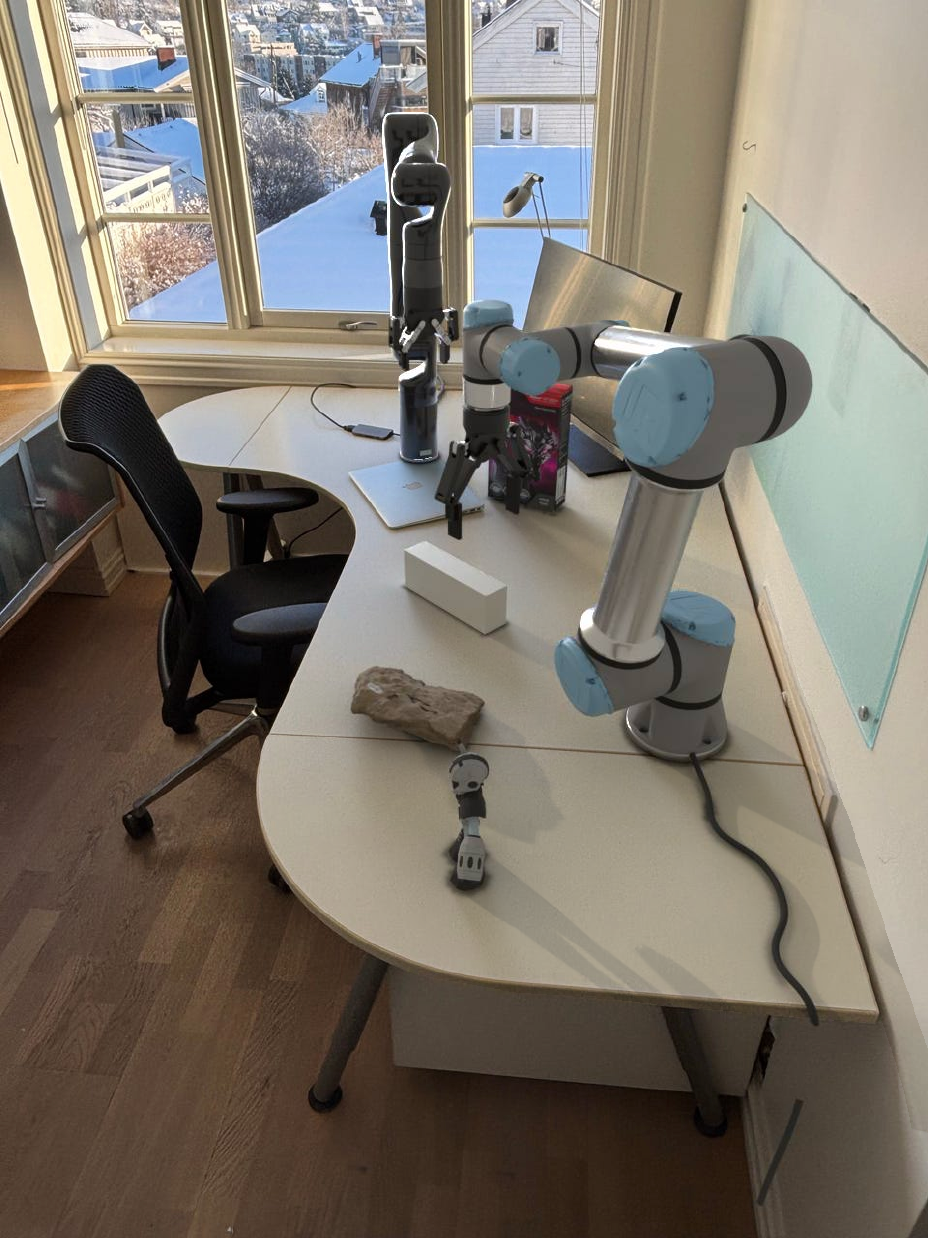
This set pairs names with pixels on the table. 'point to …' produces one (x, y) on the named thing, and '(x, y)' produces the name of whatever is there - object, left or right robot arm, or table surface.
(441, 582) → the bar
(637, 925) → the table surface
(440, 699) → the stone
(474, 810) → the robot
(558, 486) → the graphics card box
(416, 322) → the left robot arm
